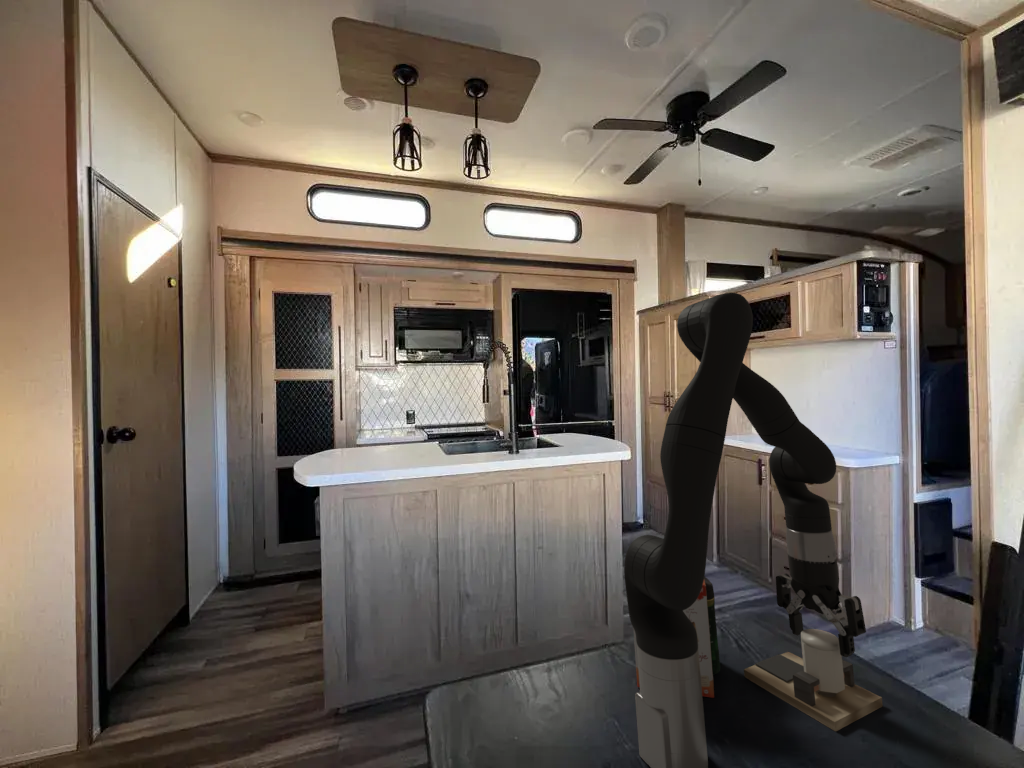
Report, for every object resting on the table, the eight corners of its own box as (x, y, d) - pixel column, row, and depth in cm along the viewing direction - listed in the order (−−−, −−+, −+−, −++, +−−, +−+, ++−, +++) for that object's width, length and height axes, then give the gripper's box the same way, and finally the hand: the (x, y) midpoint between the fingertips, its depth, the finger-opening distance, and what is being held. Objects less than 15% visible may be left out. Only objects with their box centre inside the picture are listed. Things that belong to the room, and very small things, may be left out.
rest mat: (787, 683, 83) (786, 680, 83) (755, 665, 89) (755, 663, 89) (811, 672, 86) (811, 670, 86) (779, 655, 92) (779, 653, 92)
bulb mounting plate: (835, 731, 72) (829, 667, 73) (744, 677, 88) (739, 625, 89) (882, 706, 78) (876, 646, 78) (788, 659, 93) (784, 609, 94)
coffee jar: (726, 678, 88) (718, 582, 89) (685, 679, 89) (677, 583, 90) (709, 652, 98) (701, 565, 99) (672, 652, 98) (665, 566, 99)
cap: (824, 699, 76) (820, 650, 76) (791, 681, 81) (787, 636, 82) (857, 683, 79) (852, 637, 80) (823, 667, 85) (819, 624, 85)
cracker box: (637, 689, 86) (628, 579, 88) (638, 671, 92) (630, 568, 93) (716, 700, 82) (706, 583, 83) (712, 681, 87) (703, 572, 89)
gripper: (761, 547, 87) (770, 632, 86) (839, 569, 74) (851, 670, 73) (787, 540, 90) (796, 622, 89) (867, 559, 77) (878, 657, 76)
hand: (821, 644), depth 81 cm, fingers open, 8 cm apart
